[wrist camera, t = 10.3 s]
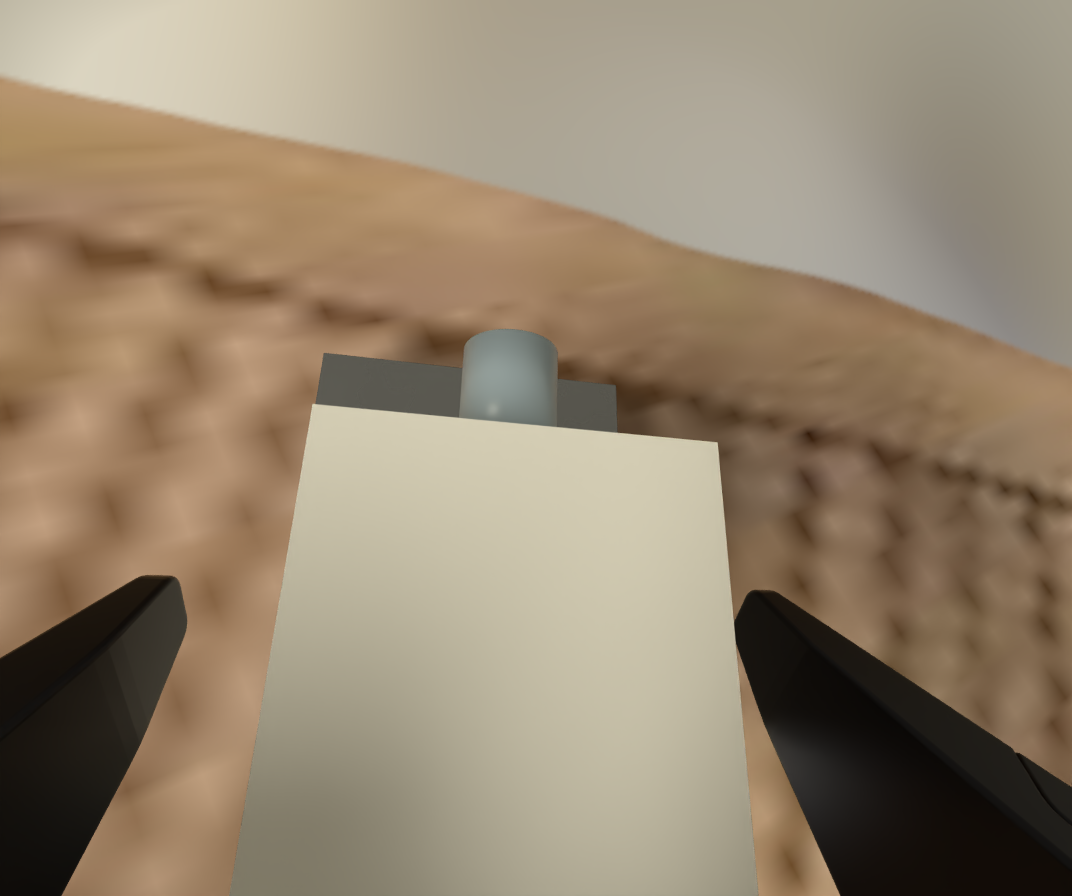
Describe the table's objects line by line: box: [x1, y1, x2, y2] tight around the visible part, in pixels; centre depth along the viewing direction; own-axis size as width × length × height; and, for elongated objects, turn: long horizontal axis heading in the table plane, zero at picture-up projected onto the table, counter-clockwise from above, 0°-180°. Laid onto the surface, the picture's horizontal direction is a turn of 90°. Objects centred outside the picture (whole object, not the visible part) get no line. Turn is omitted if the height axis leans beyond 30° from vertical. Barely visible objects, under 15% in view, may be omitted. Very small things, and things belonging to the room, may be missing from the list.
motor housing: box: [316, 353, 617, 433], centre depth 14 cm, size 22×10×6 cm, turn 179°
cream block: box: [229, 329, 758, 896], centre depth 10 cm, size 7×5×10 cm
